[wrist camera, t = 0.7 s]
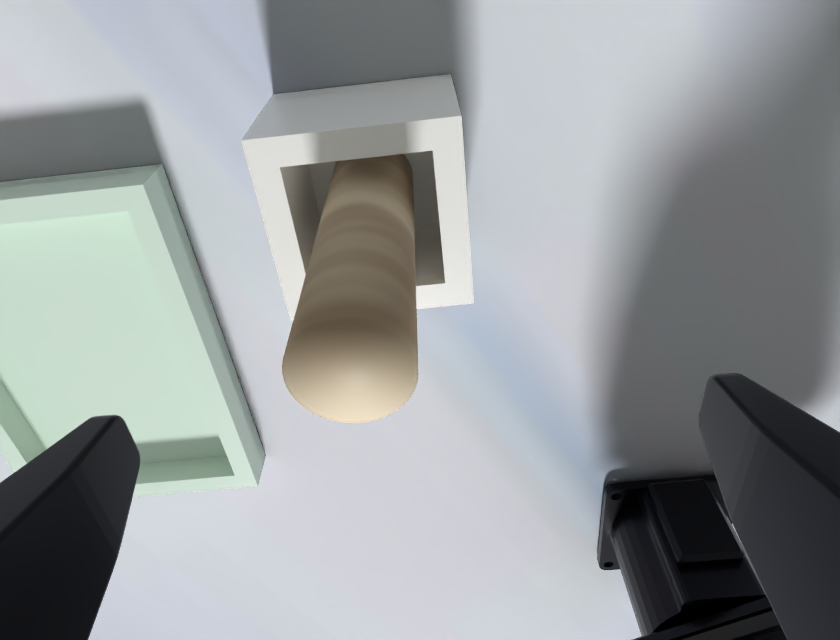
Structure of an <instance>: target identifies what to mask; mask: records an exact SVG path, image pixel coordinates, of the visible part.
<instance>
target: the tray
mask: <svg viewBox="0 0 840 640" xmlns="http://www.w3.org/2000/svg"><path fill="white" fill-rule="evenodd" d="M103 415H119V416H121V417H122V418H123V419H124V421H125V422H126V424H127V427H128V429H129V431H130V433H131V435H132V437H133V439H134V441H135V444H136V446H137V448H138V450H139V453H140V469H139V473H138V477H137V481H136V485H135V489H134V493H133V497H141V496H152V495H164V494H175V493H187V492H198V491H210V490H221V489H233V488H244V487H256V486H258V484H259V480H260V476H261V472H262V468H263V464H264V460H265V456H266V455H265V453H264V450H263V447H262V444H261V441H260V438H259V436H258V433H257V430H256V427H255V424H254V422H253V419H252V416H251V413H250V410H249V407H248V405H247V402H246V399H245V396H244V393H243V391H242V388H241V385H240V382H239V379H238V376H237V374H236V371H235V368H234V365H233V362H232V360H231V357H230V354H229V351H228V348H227V345H226V343H225V340H224V337H223V334H222V331H221V329H220V326H219V323H218V320H217V317H216V314H215V312H214V309H213V306H212V303H211V300H210V298H209V295H208V292H207V289H206V286H205V284H204V281H203V278H202V275H201V272H200V269H199V267H198V264H197V261H196V258H195V255H194V253H193V250H192V247H191V244H190V241H189V238H188V236H187V233H186V230H185V227H184V224H183V222H182V219H181V216H180V213H179V210H178V207H177V205H176V202H175V199H174V196H173V193H172V191H171V188H170V185H169V182H168V179H167V176H166V174H165V171H164V168H163V165H162V164H158V165H149V166H140V167H131V168H122V169H112V170H103V171H94V172H85V173H76V174H67V175H58V176H49V177H40V178H31V179H22V180H13V181H4V182H0V453H1V455H2V456H3V458H4V459H5V461H6V462H7V463H8V465H9V466H10V468H11V469H12V471H13V472H16V471H17V470H19V469H20V468H21V467H23V466H24V465H26V464H27V463H28V462H30V461H31V460H32V459H34V458H35V457H37V456H38V455H39V454H41V453H42V452H43V451H45V450H46V449H48V448H49V447H50V446H52V445H53V444H55V443H56V442H57V441H59V440H60V439H61V438H63V437H64V436H66V435H67V434H68V433H70V432H71V431H72V430H74V429H75V428H77V427H78V426H79V425H81V424H82V423H83V422H85V421H86V420H88V419H89V418H91V417H94V416H103Z"/></svg>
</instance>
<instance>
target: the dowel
mask: <svg viewBox="0 0 840 640" xmlns="http://www.w3.org/2000/svg"><path fill="white" fill-rule="evenodd" d="M282 373H283V378H284V381H285V384H286V387H287V388H288V390H289V392H290V393H291V395H292V396H293V397H294V399H295V400H296V401H297V402H298V403H299V404H301V405H302V406H303V407H304V408H306V409H307V410H309V411H310V412H312V413H314V414H316V415H318V416H320V417H323V418H326V419H329V420H333V421H337V422H344V423H363V422H370V421H374V420H378V419H381V418H383V417H386V416H388V415H390V414H392V413H394V412H395V411H397V410H398V409H399V408H401V407H402V406H403V405H404V404H405V403H406V402H407V401H408V400H409V398H410V397H411V395H412V394H413V392H414V390H415V388H416V384H417V381H418V346H417V308H416V270H415V232H414V194H413V173H412V168H411V165H410V163H409V161H408V159H407V158H406V156H405V155H404V154H397V155H388V156H379V157H370V158H360V159H351V160H342V161H337V162H336V164H335V168H334V171H333V175H332V179H331V183H330V186H329V190H328V194H327V197H326V201H325V205H324V209H323V212H322V216H321V220H320V223H319V227H318V231H317V235H316V238H315V242H314V246H313V250H312V253H311V257H310V261H309V264H308V268H307V272H306V276H305V279H304V283H303V287H302V290H301V294H300V298H299V302H298V305H297V309H296V313H295V317H294V320H293V324H292V328H291V331H290V335H289V339H288V343H287V346H286V350H285V354H284V357H283V363H282Z"/></svg>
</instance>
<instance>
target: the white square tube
mask: <svg viewBox="0 0 840 640" xmlns="http://www.w3.org/2000/svg"><path fill="white" fill-rule="evenodd" d="M241 142H242V145H243V149H244V153H245V156H246V160H247V164H248V167H249V171H250V175H251V178H252V182H253V186H254V189H255V193H256V197H257V200H258V204H259V208H260V211H261V215H262V219H263V222H264V226H265V230H266V233H267V237H268V241H269V244H270V248H271V252H272V255H273V259H274V263H275V266H276V270H277V273H278V277H279V281H280V284H281V288H282V292H283V295H284V299H285V303H286V306H287V310H288V314H289V317H290V321H293V320H294V317H295V313H296V309H297V305H298V302H299V298H300V294H301V290H302V287H303V283H304V279H305V276H306V272H307V268H308V264H309V261H310V257H311V253H312V250H313V246H314V242H315V238H316V235H317V231H318V227H319V223H320V220H321V216H322V212H323V209H324V205H325V201H326V197H327V194H328V190H329V186H330V183H331V179H332V175H333V171H334V168H335V164H336V162H337V161H342V160H351V159H360V158H370V157H379V156H388V155H397V154H404V155H405V156H406V158H407V159H408V161H409V163H410V165H411V168H412V173H413V194H414V232H415V270H416V308H417V309H422V308H432V307H442V306H452V305H462V304H473V303H474V297H473V281H472V266H471V251H470V236H469V220H468V205H467V190H466V175H465V160H464V144H463V129H462V115H461V111H460V108H459V104H458V100H457V96H456V92H455V89H454V85H453V81H452V77H451V74H446V75H437V76H428V77H419V78H411V79H402V80H393V81H385V82H376V83H367V84H358V85H350V86H341V87H332V88H324V89H315V90H306V91H298V92H289V93H280V94H273V95H272V96H271V98H270V99H269V101H268V102H267V104H266V105H265V107H264V108H263V110H262V111H261V112H260V114H259V115H258V117H257V118H256V120H255V121H254V123H253V124H252V125H251V127H250V128H249V130H248V131H247V133H246V134H245V136H244V137H243V138H242V140H241Z"/></svg>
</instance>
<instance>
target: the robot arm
mask: <svg viewBox="0 0 840 640" xmlns="http://www.w3.org/2000/svg"><path fill="white" fill-rule="evenodd" d="M699 427H700V431H701V434H702V437H703V440H704V443H705V446H706V449H707V452H708V455H709V458H710V460H711V463H712V466H713V469H714V472H715V475H707V476H695V477H683V478H671V479H659V480H648V481H636V482H624V483H614V484H610V485H608V486H607V487H606V488H605V489H604V494H603V505H602V515H601V525H600V535H599V546H598V556H597V560H598V563H599V567H600V568H601V569H603V570H616V569H621V573H622V576H623V579H624V582H625V585H626V588H627V591H628V594H629V597H630V601H631V604H632V607H633V610H634V613H635V616H636V619H637V622H638V625H639V629H640V632H641V635H642V637H639V638H636V639H633V640H840V432H838V431H837V430H835V429H833V428H832V427H830V426H828V425H827V424H825V423H823V422H821V421H820V420H818V419H816V418H815V417H813V416H811V415H810V414H808V413H806V412H805V411H803V410H801V409H800V408H798V407H796V406H794V405H793V404H791V403H789V402H788V401H786V400H784V399H783V398H781V397H779V396H778V395H776V394H774V393H772V392H771V391H769V390H767V389H766V388H764V387H762V386H761V385H759V384H757V383H756V382H754V381H752V380H750V379H749V378H747V377H745V376H744V375H742V374H738V373H729V374H715V375H713V376H711V377H710V378H709V379H708V381H707V384H706V388H705V392H704V397H703V401H702V405H701V409H700V413H699ZM139 469H140V453H139V450H138V448H137V446H136V444H135V441H134V439H133V437H132V435H131V433H130V431H129V429H128V427H127V424H126V422H125V421H124V419H123V418H122V417H121V416H119V415H103V416H94V417H91V418H89V419H88V420H86V421H85V422H83V423H82V424H81V425H79V426H78V427H77V428H75V429H74V430H72V431H71V432H70V433H68V434H67V435H66V436H64V437H63V438H61V439H60V440H59V441H57V442H56V443H55V444H53V445H52V446H50V447H49V448H48V449H46V450H45V451H43V452H42V453H41V454H39V455H38V456H37V457H35V458H34V459H32V460H31V461H30V462H28V463H27V464H26V465H24V466H23V467H21V468H20V469H19V470H17V471H16V472H14V473H13V474H12V475H10V476H9V477H8V478H6V479H5V480H3V481H2V482H1V483H0V640H88V638H89V636H90V633H91V630H92V627H93V624H94V622H95V619H96V616H97V613H98V611H99V608H100V605H101V602H102V600H103V597H104V594H105V591H106V589H107V586H108V583H109V580H110V578H111V575H112V572H113V569H114V566H115V563H116V560H117V557H118V553H119V550H120V546H121V543H122V539H123V535H124V530H125V526H126V522H127V518H128V514H129V510H130V506H131V502H132V497H133V493H134V489H135V485H136V481H137V477H138V473H139ZM732 523H733V525H734V528H735V530H736V532H737V534H738V536H737V534H736V532H735V530H734V528H733V526H732ZM738 537H739V538H738ZM739 539H740V540H739ZM740 541H741V542H740Z"/></svg>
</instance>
